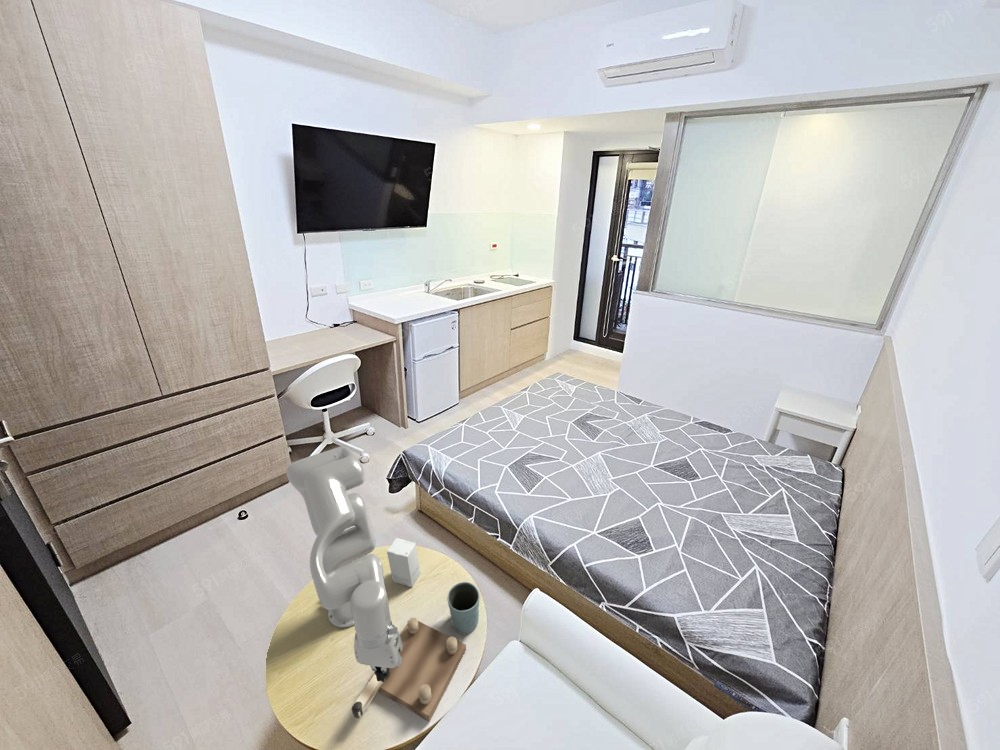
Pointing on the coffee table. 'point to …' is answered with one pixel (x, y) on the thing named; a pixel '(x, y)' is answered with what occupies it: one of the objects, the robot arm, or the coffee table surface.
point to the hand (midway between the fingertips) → (382, 674)
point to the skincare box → (403, 562)
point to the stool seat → (423, 668)
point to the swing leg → (366, 696)
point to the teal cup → (464, 607)
